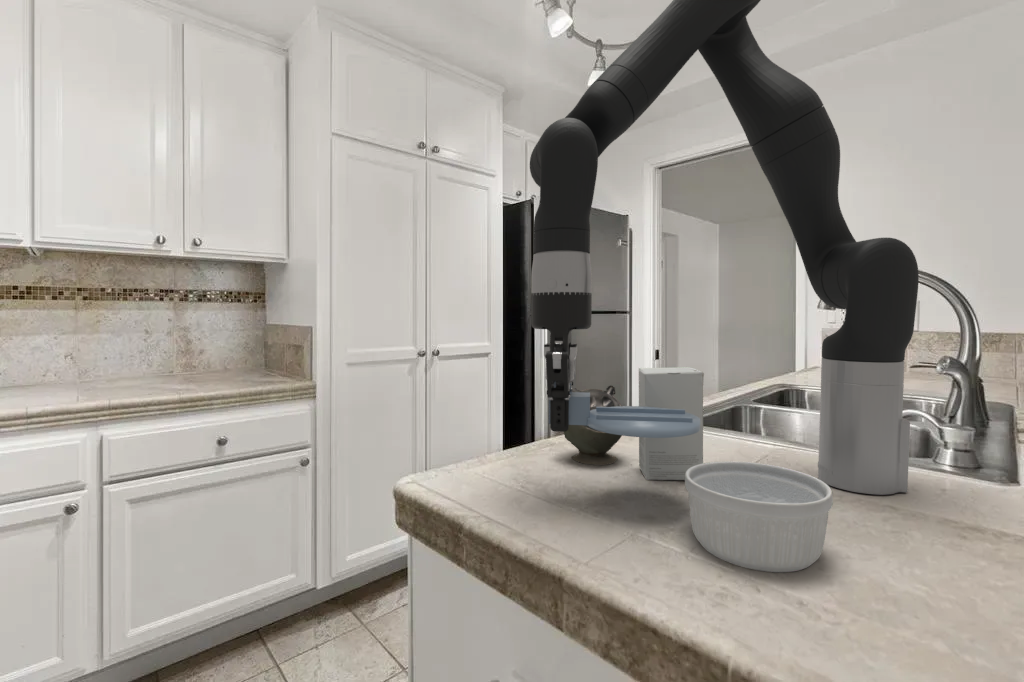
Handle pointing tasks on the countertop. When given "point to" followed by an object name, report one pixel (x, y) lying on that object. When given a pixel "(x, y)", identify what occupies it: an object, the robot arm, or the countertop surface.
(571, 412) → the lid
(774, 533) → the ramekin
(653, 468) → the skincare box
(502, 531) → the countertop surface
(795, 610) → the countertop surface
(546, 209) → the robot arm
